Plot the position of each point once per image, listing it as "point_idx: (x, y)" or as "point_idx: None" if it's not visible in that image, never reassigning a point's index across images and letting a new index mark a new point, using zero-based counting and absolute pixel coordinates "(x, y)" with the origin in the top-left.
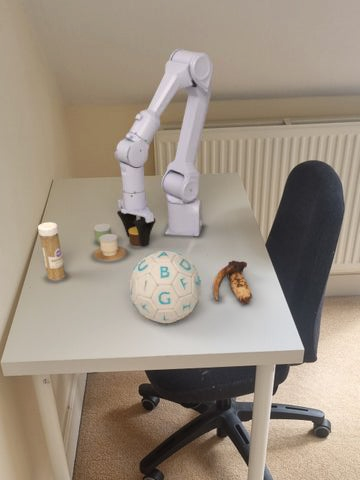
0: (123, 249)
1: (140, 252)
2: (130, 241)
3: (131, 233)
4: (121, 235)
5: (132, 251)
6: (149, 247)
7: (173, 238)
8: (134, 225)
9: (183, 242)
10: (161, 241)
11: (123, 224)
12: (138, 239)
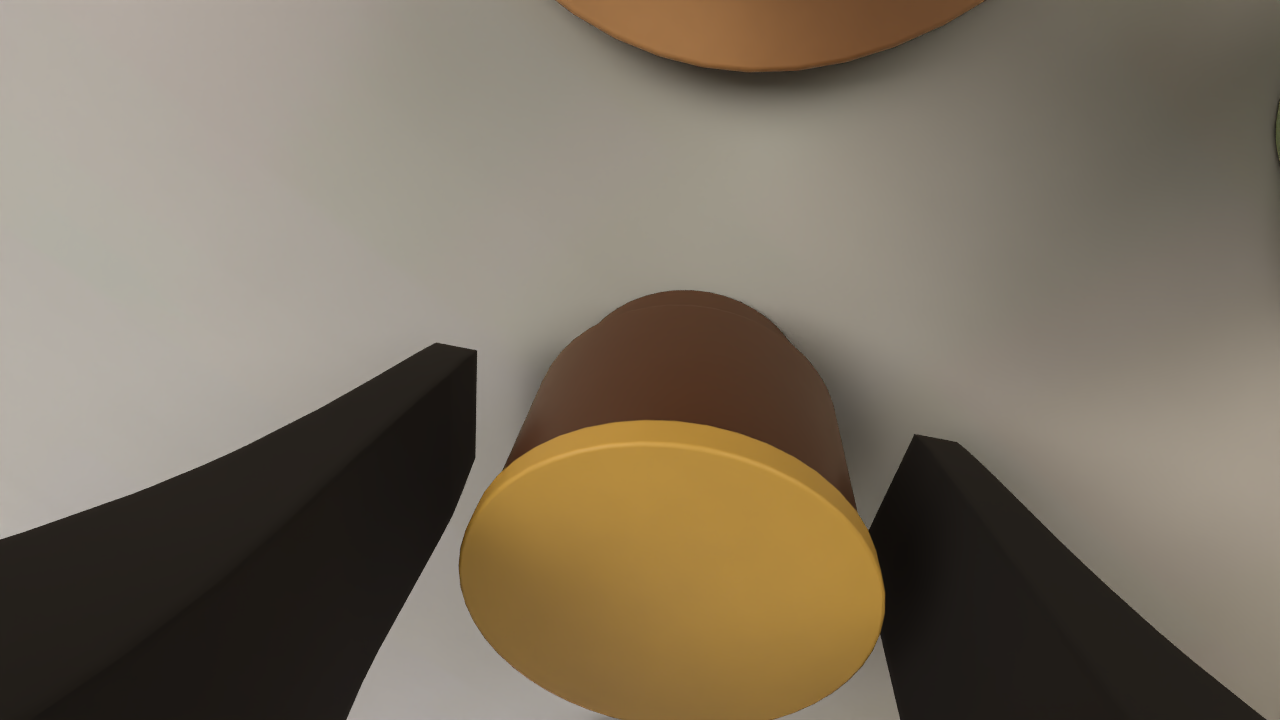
0: (680, 39)
1: (435, 232)
2: (728, 324)
3: (631, 433)
4: (1216, 480)
5: (564, 167)
6: (502, 429)
7: (522, 698)
8: (916, 717)
9: (370, 681)
10: None
11: (1165, 643)
12: (534, 413)
